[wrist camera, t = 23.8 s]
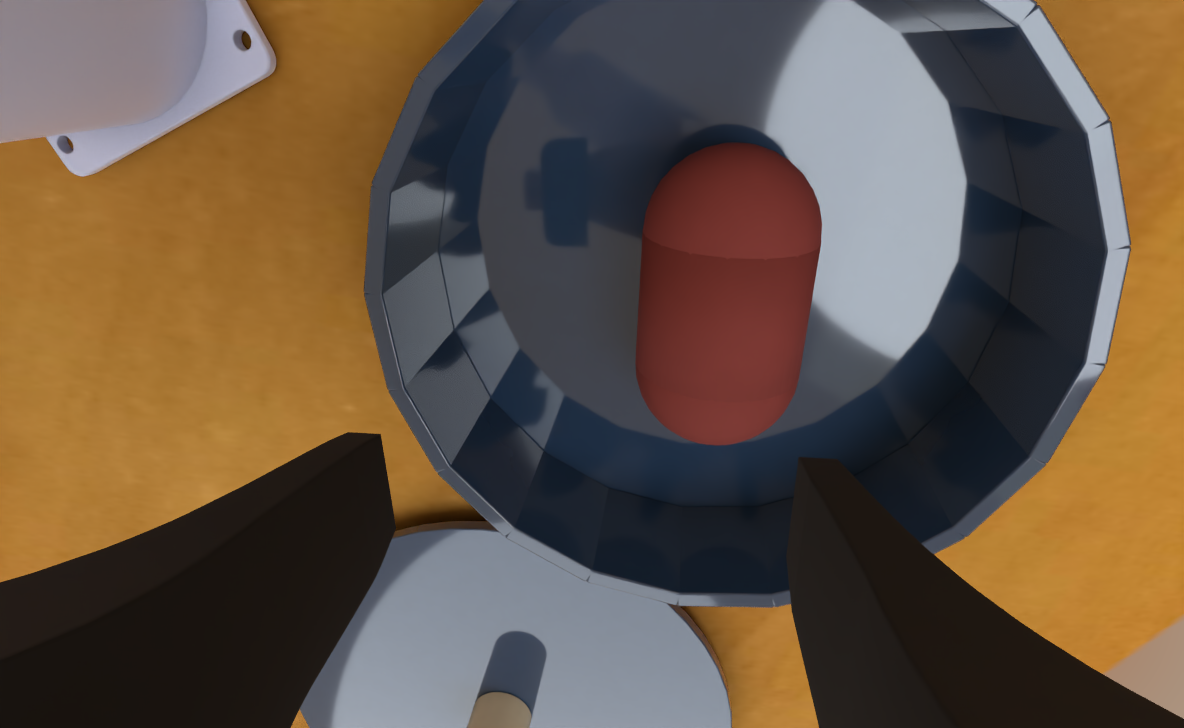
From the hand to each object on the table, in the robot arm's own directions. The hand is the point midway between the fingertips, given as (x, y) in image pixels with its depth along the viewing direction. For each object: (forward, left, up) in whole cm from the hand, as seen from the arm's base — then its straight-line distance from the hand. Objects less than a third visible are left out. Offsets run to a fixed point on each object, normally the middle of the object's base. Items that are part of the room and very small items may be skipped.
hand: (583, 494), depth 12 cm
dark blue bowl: (0, +3, -10) cm, 11 cm away
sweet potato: (0, +3, -10) cm, 10 cm away
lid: (+14, -11, -10) cm, 21 cm away
